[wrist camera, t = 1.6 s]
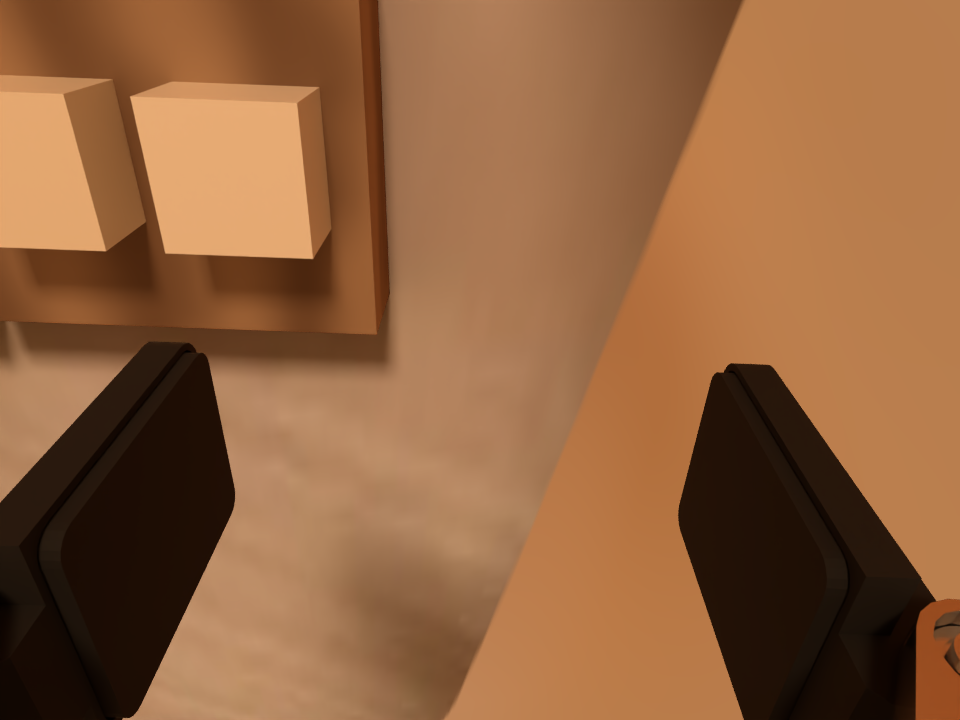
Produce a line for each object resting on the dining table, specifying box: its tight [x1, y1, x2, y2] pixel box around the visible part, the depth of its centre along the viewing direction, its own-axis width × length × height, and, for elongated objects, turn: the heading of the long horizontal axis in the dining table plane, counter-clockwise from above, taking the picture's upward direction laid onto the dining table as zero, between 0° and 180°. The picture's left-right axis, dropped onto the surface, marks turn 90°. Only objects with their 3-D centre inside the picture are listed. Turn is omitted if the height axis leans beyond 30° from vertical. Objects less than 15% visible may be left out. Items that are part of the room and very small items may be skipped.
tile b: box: [0, 75, 146, 251], centre depth 22 cm, size 5×5×3 cm
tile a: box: [130, 82, 331, 259], centre depth 22 cm, size 5×5×3 cm
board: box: [0, 0, 389, 335], centre depth 25 cm, size 18×14×4 cm
